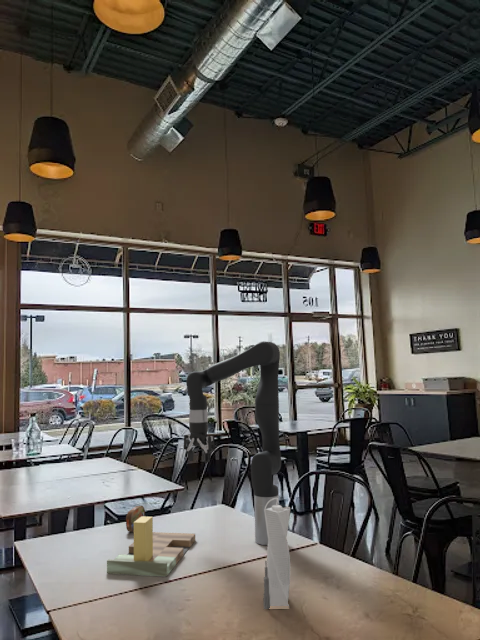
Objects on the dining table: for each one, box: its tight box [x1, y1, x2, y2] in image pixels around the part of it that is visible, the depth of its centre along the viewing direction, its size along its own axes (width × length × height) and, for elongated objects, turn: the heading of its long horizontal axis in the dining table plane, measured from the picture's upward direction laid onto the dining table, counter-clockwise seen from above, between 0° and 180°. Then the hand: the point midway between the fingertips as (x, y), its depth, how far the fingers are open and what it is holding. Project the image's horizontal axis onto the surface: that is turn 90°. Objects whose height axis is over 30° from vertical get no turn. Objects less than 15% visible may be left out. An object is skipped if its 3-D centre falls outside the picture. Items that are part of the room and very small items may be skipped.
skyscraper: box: [263, 497, 291, 610], centre depth 146 cm, size 8×8×28 cm
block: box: [133, 515, 154, 561], centre depth 174 cm, size 7×4×13 cm, turn 170°
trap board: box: [106, 531, 196, 578], centre depth 184 cm, size 35×20×4 cm, turn 170°
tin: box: [125, 505, 146, 533], centre depth 216 cm, size 15×3×8 cm, turn 168°
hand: (199, 461), depth 210 cm, fingers open, 8 cm apart
